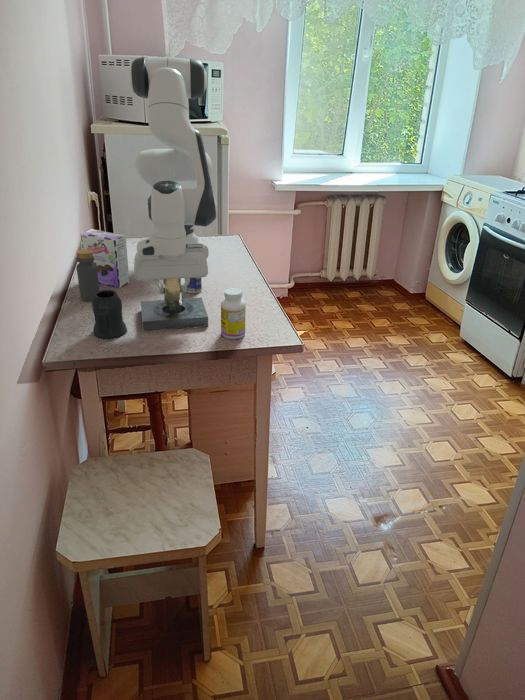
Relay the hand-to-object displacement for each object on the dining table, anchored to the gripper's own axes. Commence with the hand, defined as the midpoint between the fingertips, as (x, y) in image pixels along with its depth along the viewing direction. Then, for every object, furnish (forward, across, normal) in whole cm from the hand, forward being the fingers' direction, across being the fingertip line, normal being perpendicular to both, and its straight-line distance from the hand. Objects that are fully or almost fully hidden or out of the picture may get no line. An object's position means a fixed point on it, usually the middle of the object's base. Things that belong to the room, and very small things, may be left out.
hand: (172, 292), depth 150 cm
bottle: (+8, +24, -19) cm, 32 cm away
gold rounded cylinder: (+3, 0, 0) cm, 3 cm away
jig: (+8, 0, 0) cm, 8 cm away
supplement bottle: (+8, -15, +13) cm, 22 cm away
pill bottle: (+8, -8, -20) cm, 23 cm away
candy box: (+8, +19, -32) cm, 38 cm away
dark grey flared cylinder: (+8, +18, +7) cm, 21 cm away
